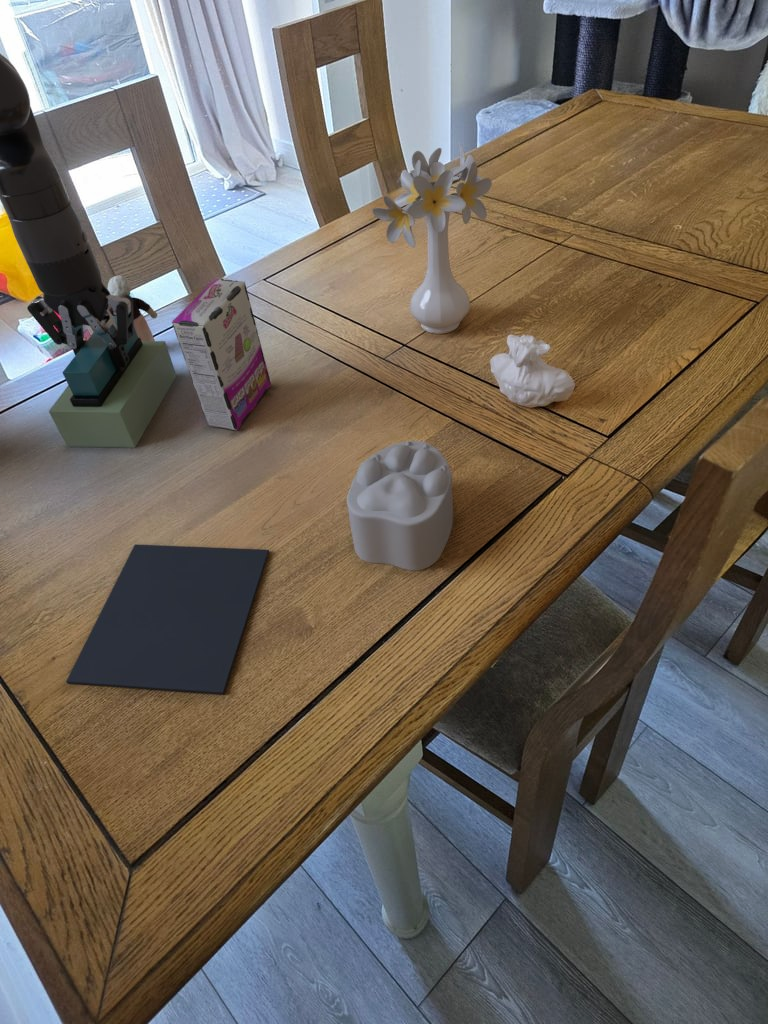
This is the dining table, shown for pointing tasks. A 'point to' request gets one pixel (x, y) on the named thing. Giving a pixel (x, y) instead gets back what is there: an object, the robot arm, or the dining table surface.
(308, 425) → the dining table surface
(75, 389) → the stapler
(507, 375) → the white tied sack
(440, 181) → the flower vase
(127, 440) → the stand
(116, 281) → the grandmother figurine
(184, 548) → the mat
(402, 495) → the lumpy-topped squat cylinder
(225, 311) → the candy bar box
